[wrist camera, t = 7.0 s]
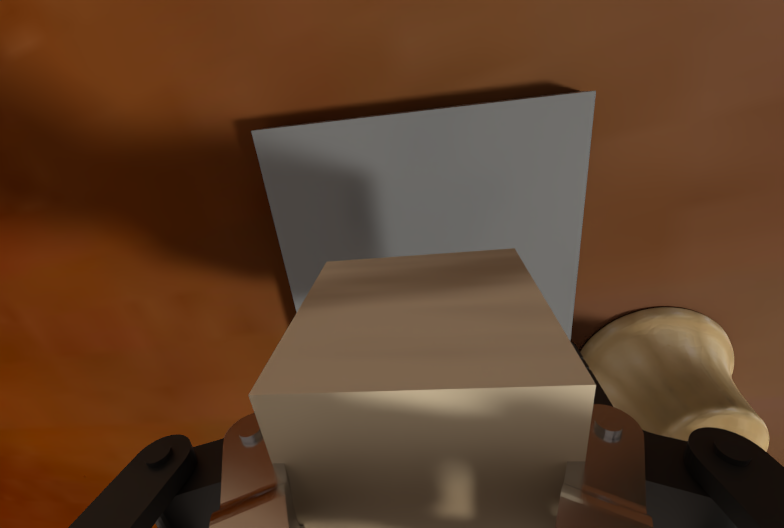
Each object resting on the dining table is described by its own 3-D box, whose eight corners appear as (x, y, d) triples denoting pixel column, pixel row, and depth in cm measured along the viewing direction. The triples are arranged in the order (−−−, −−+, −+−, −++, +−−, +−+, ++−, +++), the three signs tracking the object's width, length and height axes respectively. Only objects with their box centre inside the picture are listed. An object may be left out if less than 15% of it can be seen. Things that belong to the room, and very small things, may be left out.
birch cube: (326, 261, 12) (248, 394, 7) (514, 248, 12) (596, 384, 6) (354, 401, 15) (312, 581, 9) (511, 396, 14) (566, 589, 8)
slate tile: (264, 127, 17) (251, 130, 16) (581, 91, 16) (595, 90, 14) (321, 367, 23) (314, 384, 22) (557, 358, 21) (566, 377, 20)
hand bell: (659, 277, 19) (1432, 882, 4) (763, 359, 20) (1599, 1014, 6) (540, 377, 22) (762, 919, 8) (638, 442, 24) (982, 1000, 9)
